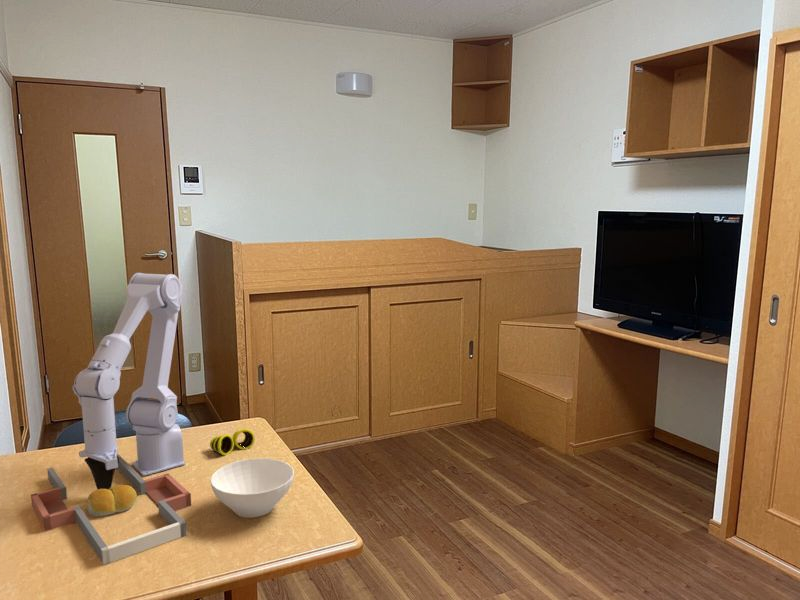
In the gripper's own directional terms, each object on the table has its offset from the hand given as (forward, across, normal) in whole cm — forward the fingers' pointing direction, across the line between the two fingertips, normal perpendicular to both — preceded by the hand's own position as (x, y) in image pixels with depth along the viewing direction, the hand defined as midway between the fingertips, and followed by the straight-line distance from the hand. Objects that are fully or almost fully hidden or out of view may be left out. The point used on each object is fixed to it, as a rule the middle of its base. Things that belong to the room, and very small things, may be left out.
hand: (104, 490), depth 122 cm
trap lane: (+1, +4, 0) cm, 4 cm away
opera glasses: (+2, -6, +31) cm, 31 cm away
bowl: (+2, +24, +21) cm, 32 cm away
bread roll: (+2, +5, 0) cm, 5 cm away
